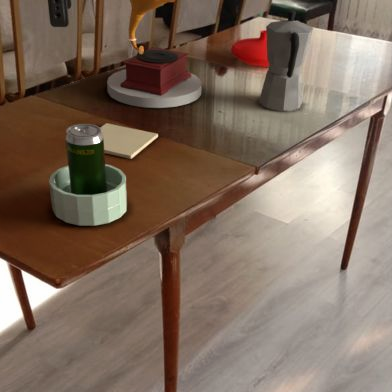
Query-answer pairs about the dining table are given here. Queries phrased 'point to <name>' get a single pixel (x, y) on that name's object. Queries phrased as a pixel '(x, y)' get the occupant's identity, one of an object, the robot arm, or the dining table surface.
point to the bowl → (88, 199)
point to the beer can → (86, 159)
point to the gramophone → (153, 71)
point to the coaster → (125, 140)
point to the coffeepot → (285, 63)
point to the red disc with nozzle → (252, 50)
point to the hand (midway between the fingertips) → (61, 17)
